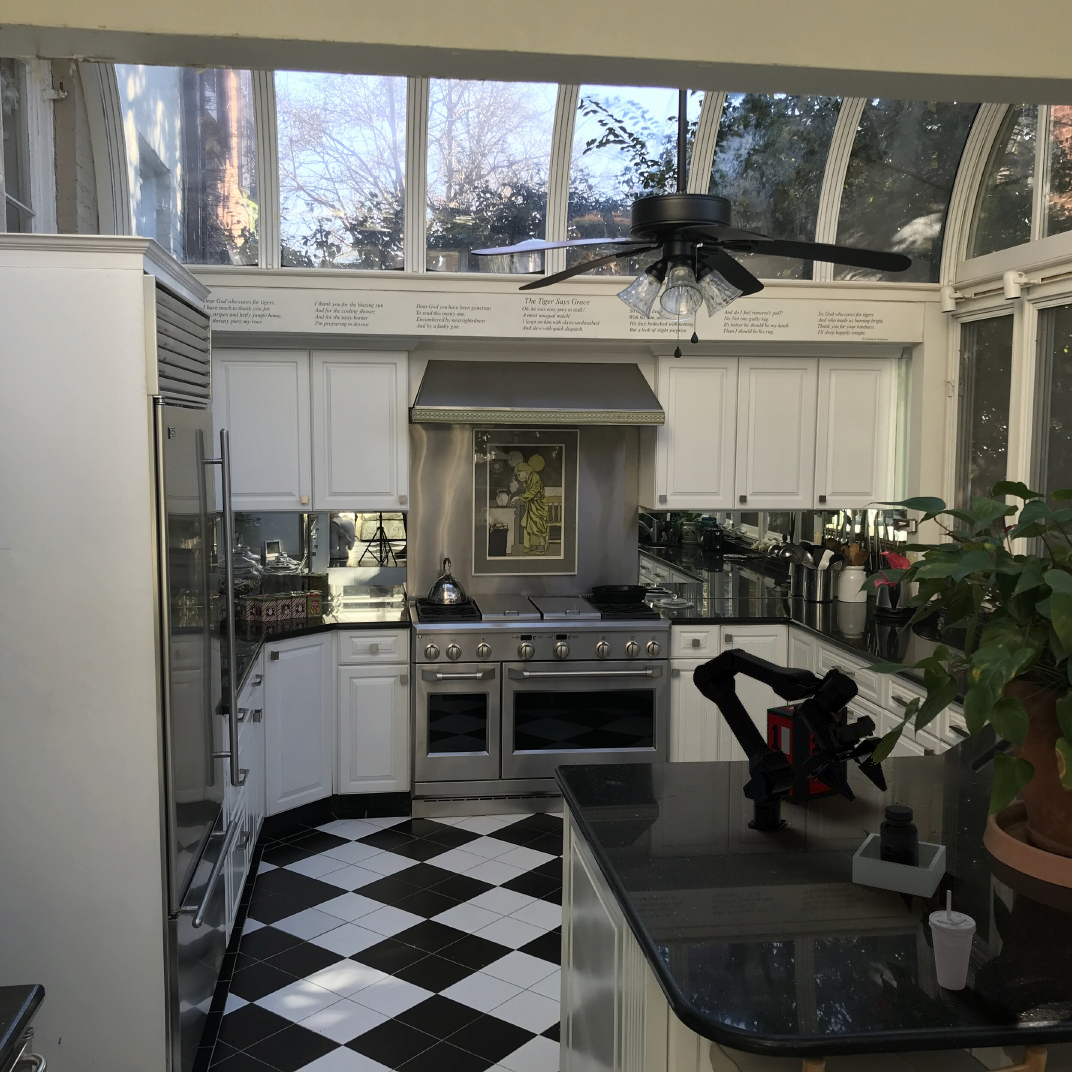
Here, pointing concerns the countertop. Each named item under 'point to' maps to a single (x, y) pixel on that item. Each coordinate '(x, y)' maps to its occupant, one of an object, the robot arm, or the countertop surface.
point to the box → (899, 869)
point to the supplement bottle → (899, 836)
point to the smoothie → (952, 945)
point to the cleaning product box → (798, 751)
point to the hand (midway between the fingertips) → (869, 795)
